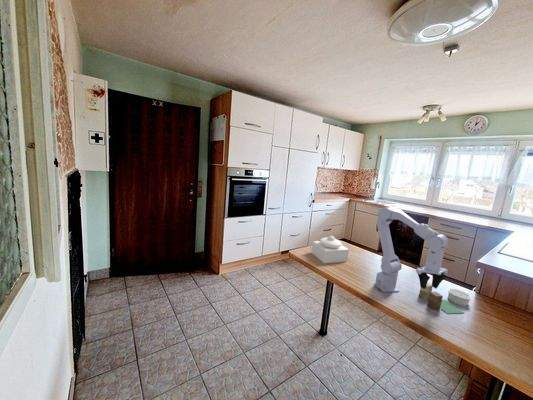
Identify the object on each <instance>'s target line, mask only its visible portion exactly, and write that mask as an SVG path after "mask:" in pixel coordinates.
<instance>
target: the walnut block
mask: <svg viewBox="0 0 533 400" xmlns="http://www.w3.org/2000/svg"><path fill="white" fill-rule="evenodd" d="M443 298H444V297H443V295H442V294H440V293H439V292H438V291H432V292H430V294H429V298H428V299H427V304H426V305H427V306H428V307H429V308H430V309H432V310H434V311H435V310H437V311H438V310H441V309H440V306H441V302H442V300H443Z"/></svg>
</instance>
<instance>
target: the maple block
mask: <svg viewBox="0 0 533 400" xmlns="http://www.w3.org/2000/svg"><path fill="white" fill-rule="evenodd" d="M432 290H433V287H432V283H429V282H427V285H426V288H425V289H423V288H422V287H420V288H419V293H418V295H419V297H421V298H423V299H425V300H428V299H429V294H430V292H433V291H432Z"/></svg>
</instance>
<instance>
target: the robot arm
mask: <svg viewBox="0 0 533 400" xmlns="http://www.w3.org/2000/svg"><path fill="white" fill-rule="evenodd" d="M377 215H378V216H377V220H376V226H377V230H378V234H379V240H380V244H381V250H382V254H383V256H382V257H381V259H380V261H381V264H380V270H381V271H379V272H377V273H376V276H375V281H374V282H373V284H374V286H376V287H377V288H378V289H379V290H380V291H382V292H383V293H388V292H389V293H391V292H392V293H395V292H397V293H398V292H400V290H399V289H397V288H396V287H397V280H398V275H399V271H401V270H402V268H403V267H402V262H400V259H399V256H397V254H395V249H394V245H393V240H392V235H391V230H390V224H391V223H392V222H393V221H394V220H396V221H397V220H398V221H400V222H402V223H404V224H405V225H406V226H408V227H410V228H411V229H413V232H414V234H416V235H417V236H419V237H420V238H421V239H423V240H424V241H426V242H427V244H428V251H427V256H426V259H425V264H424V265H425V266H422V267H417V268H416V270H415V273H416V274H417V275H418V276H417V277H418V279H419V280H418V281H419V286H420V288H421V287H422V288H423V289H425V288H426V285H427V283H429V280H430V279H431V277H430V276H429V275H428V274H431V276H432V280H431V285H432V288H434V289H438V287H439V285H440V284H441V283H442V281H444V280H445V279H446V278H447V275H448V271H449V270H448V269H446V268H445V267H442V264H443V259H444V255H445V249H446V247H447V245H449V241H450V240H449V238H448V237H447V236H446V235H445V233H444V234H443V233H439V231H435V230H434V229H432V228H431V227H430V226H429V225H428V224H427V223H418V221H416V220H415V219H414V218H412V217H411V216H409V215H408V214H407V213H405V212H404V211H403V210H402V209H400V208H399V207H397V206H388V207H385V206H384V207H382V208H380V209H379V210H378V212H377ZM446 274H447V275H446Z"/></svg>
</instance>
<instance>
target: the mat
mask: <svg viewBox="0 0 533 400" xmlns="http://www.w3.org/2000/svg"><path fill="white" fill-rule="evenodd" d="M440 310H442V311H443V312H444V313H445V314H447V315H452V314H465V312H464V311H463V310H461V309H459V308H458V307H457V306H456V305H454V304H452V303H451V302H449V301H448V300H446V299H442V302H441V306H440Z"/></svg>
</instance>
